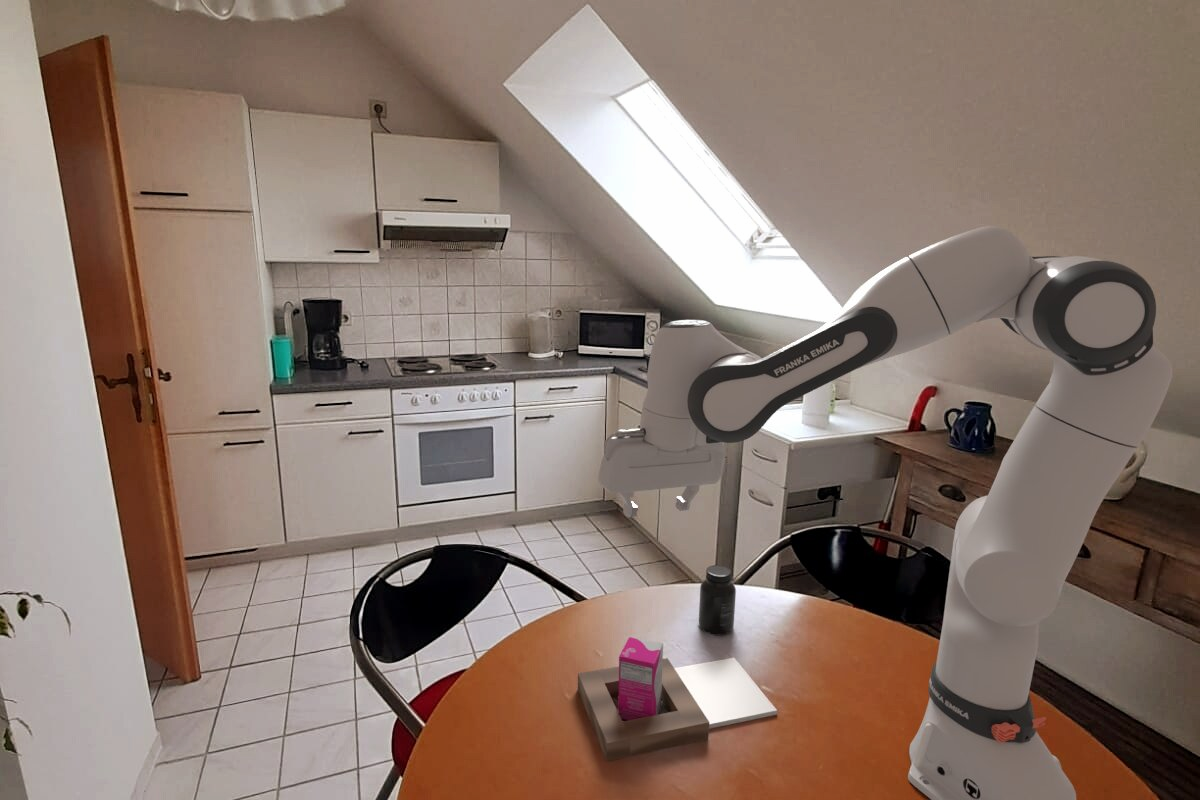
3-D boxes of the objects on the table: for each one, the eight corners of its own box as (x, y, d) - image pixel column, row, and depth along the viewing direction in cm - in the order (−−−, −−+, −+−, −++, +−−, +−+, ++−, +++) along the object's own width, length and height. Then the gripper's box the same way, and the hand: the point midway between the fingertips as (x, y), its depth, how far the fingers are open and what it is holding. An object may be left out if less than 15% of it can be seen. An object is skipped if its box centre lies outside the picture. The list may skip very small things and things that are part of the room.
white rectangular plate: (776, 714, 101) (777, 710, 101) (708, 728, 97) (708, 724, 97) (733, 661, 114) (734, 657, 114) (672, 672, 110) (672, 668, 110)
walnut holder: (708, 739, 95) (709, 722, 94) (606, 761, 90) (607, 743, 90) (666, 673, 110) (667, 658, 109) (577, 689, 105) (577, 673, 105)
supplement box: (627, 697, 104) (629, 634, 101) (662, 706, 102) (665, 642, 99) (616, 720, 99) (618, 655, 96) (653, 730, 97) (656, 664, 94)
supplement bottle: (731, 618, 128) (735, 563, 125) (735, 638, 121) (739, 580, 118) (697, 615, 128) (700, 561, 126) (698, 635, 122) (702, 577, 119)
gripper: (617, 438, 86) (605, 529, 90) (737, 432, 95) (721, 514, 99) (597, 423, 92) (586, 509, 96) (712, 418, 101) (698, 497, 105)
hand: (656, 512), depth 98 cm, fingers open, 8 cm apart
